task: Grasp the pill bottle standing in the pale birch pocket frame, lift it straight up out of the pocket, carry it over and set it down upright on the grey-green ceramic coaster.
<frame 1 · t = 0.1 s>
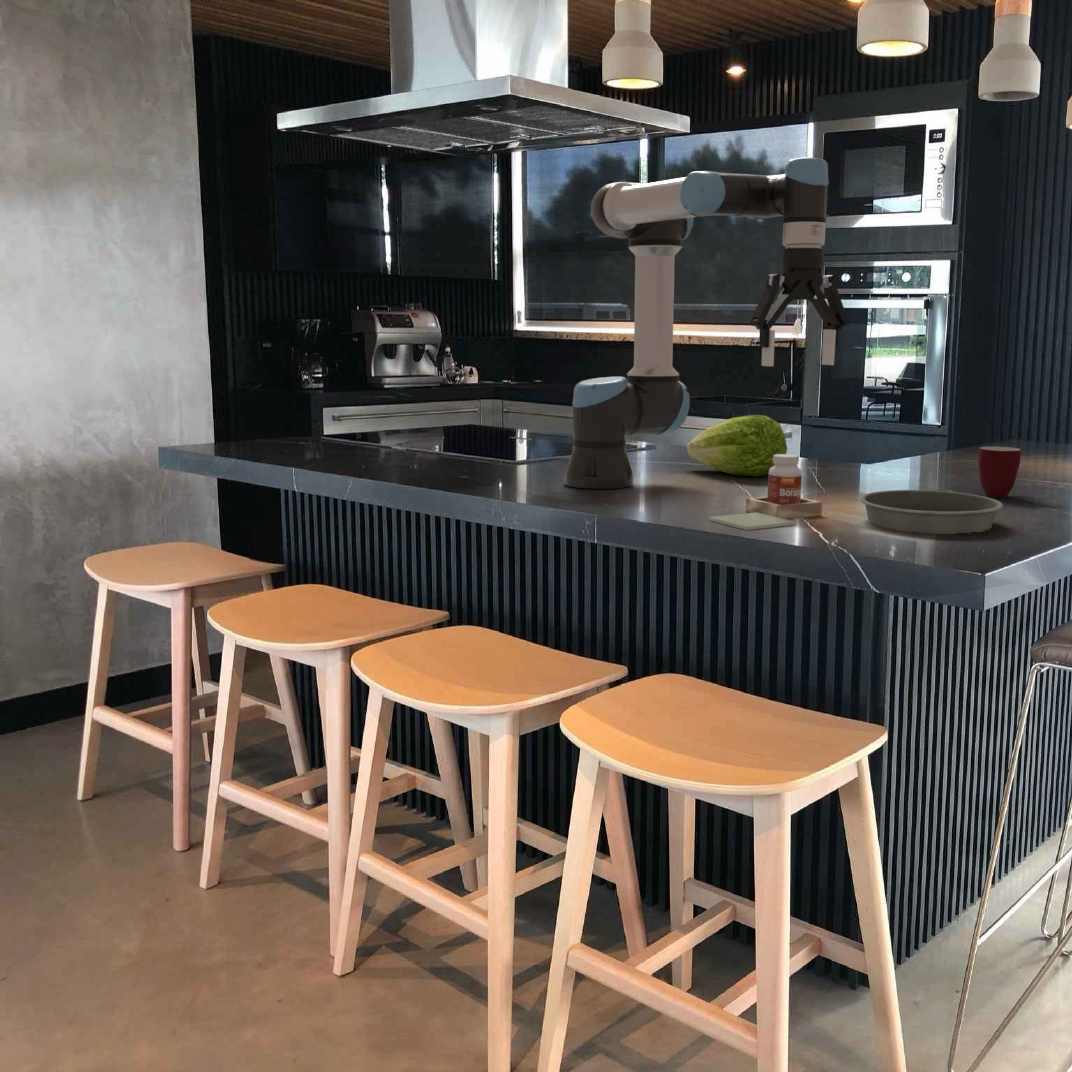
hand: (798, 365, 213), 28 cm above the table, fingers open, 13 cm apart
cake pan: (928, 525, 209), on the table
coaster: (751, 522, 209), on the table
pocket frame: (783, 513, 219), on the table
mug: (998, 496, 240), on the table
pill bottle: (783, 514, 219), resting in pocket frame
lettuce: (733, 474, 273), on the table
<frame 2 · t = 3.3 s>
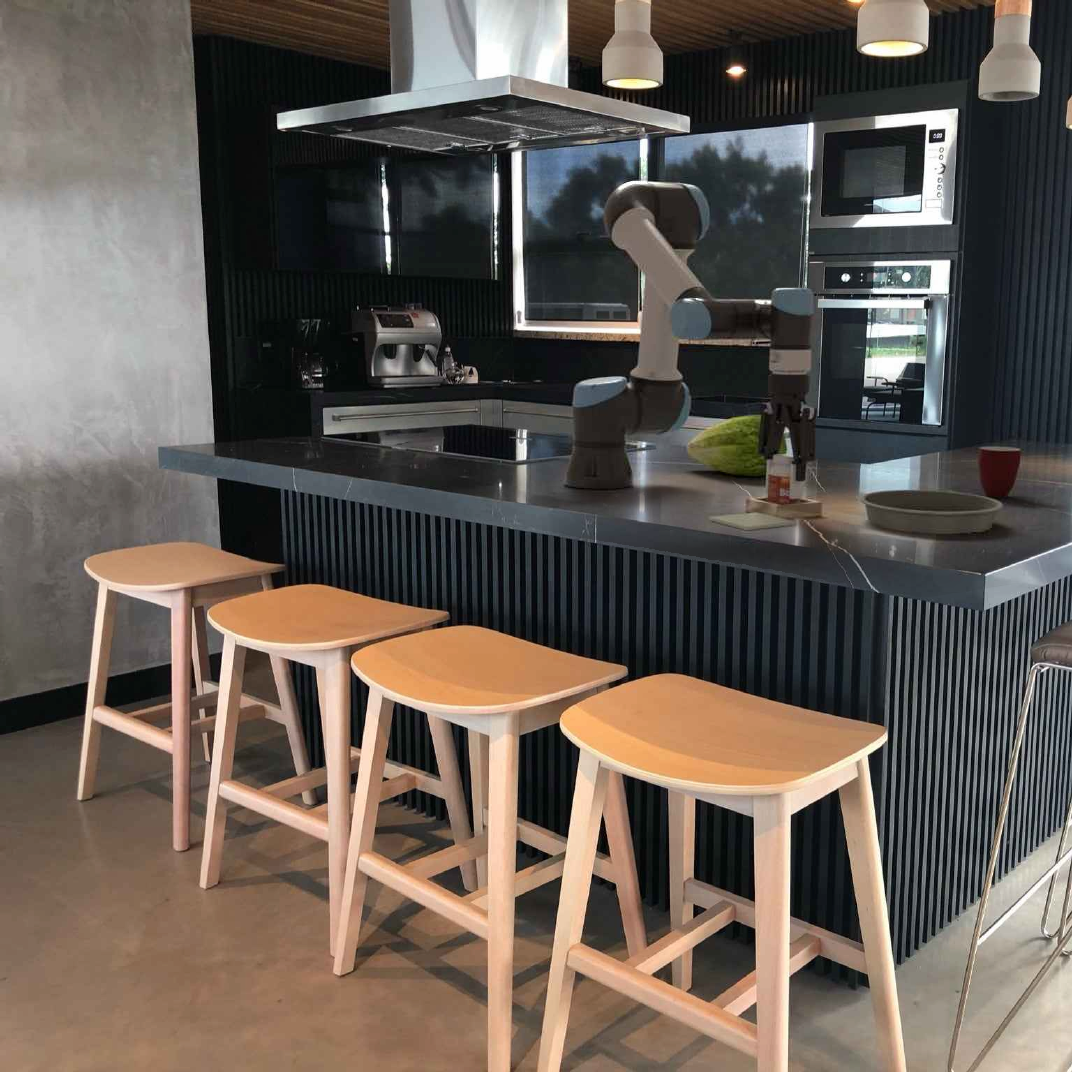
hand: (784, 495, 218), 3 cm above the table, fingers closed on pill bottle, 6 cm apart
pill bottle: (783, 514, 219), resting in pocket frame, touching gripper
everything else where it was.
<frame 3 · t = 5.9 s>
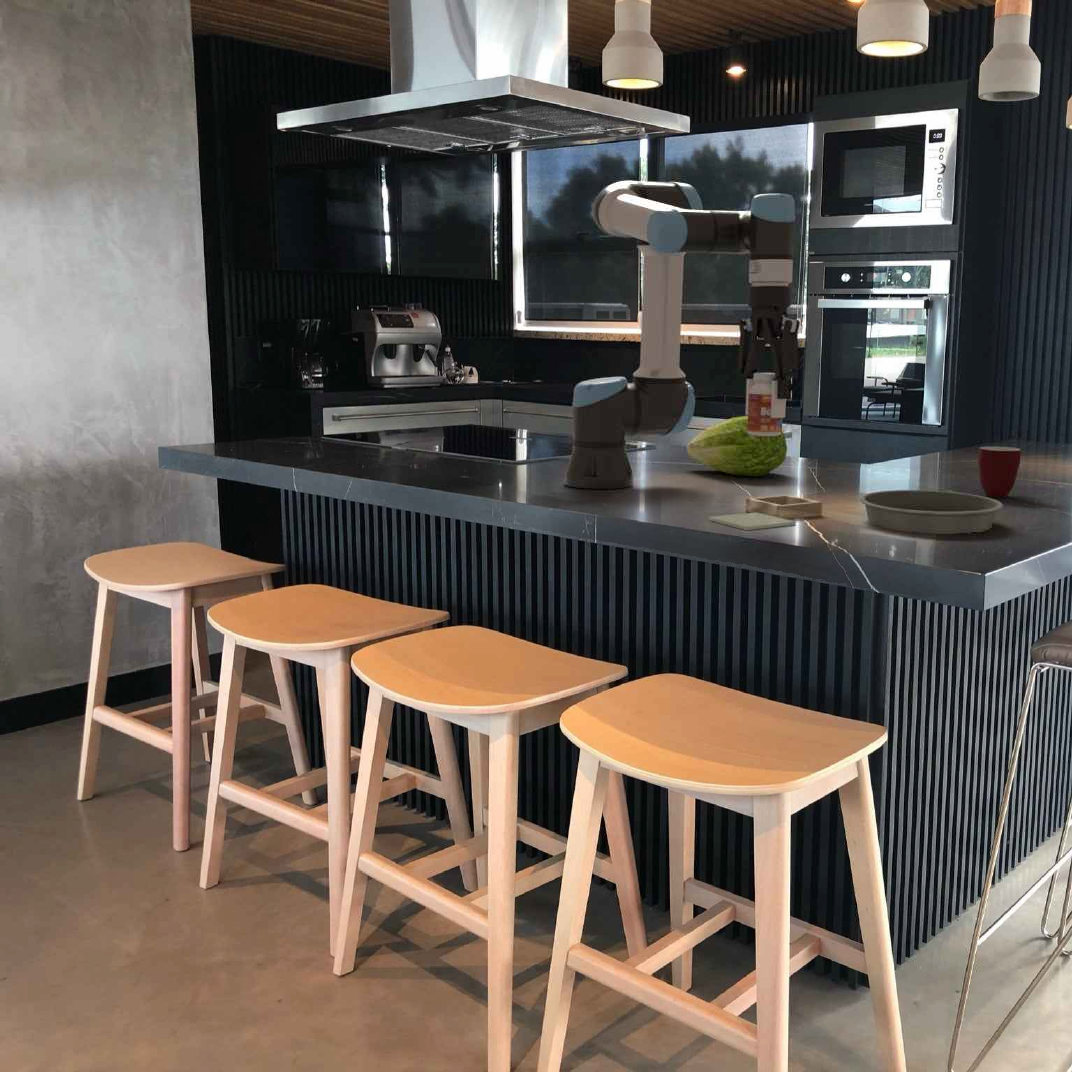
hand: (765, 415, 207), 19 cm above the table, fingers closed on pill bottle, 6 cm apart
pill bottle: (764, 436, 208), point 16 cm above the table, touching gripper
everything else where it was.
when the fingers open (6 cm above the table, at t = 8.5 s): pill bottle drops 2 cm, resting on coaster.
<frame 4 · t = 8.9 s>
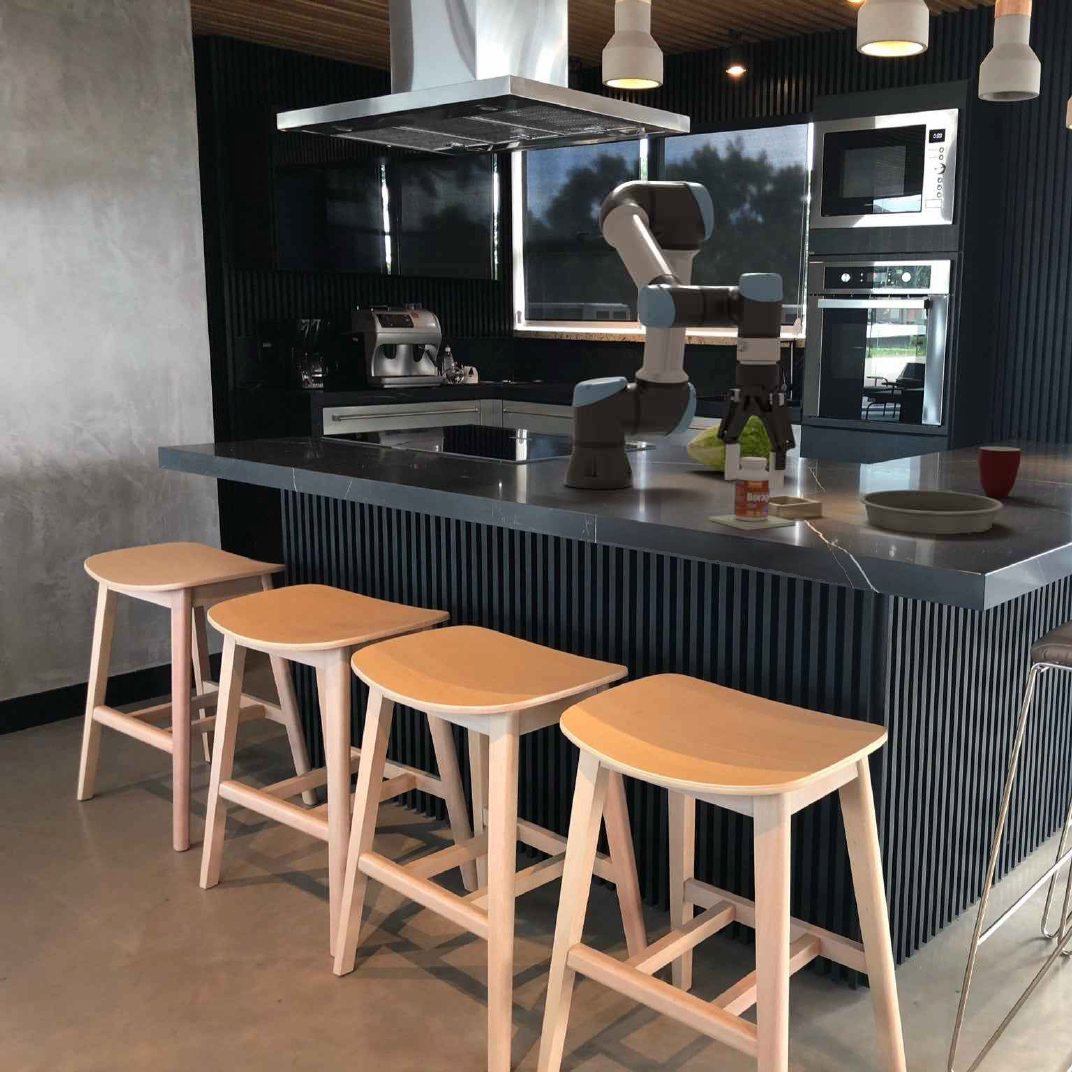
hand: (753, 483, 208), 7 cm above the table, fingers open, 12 cm apart
pill bottle: (750, 520, 209), resting on coaster
everything else where it was.
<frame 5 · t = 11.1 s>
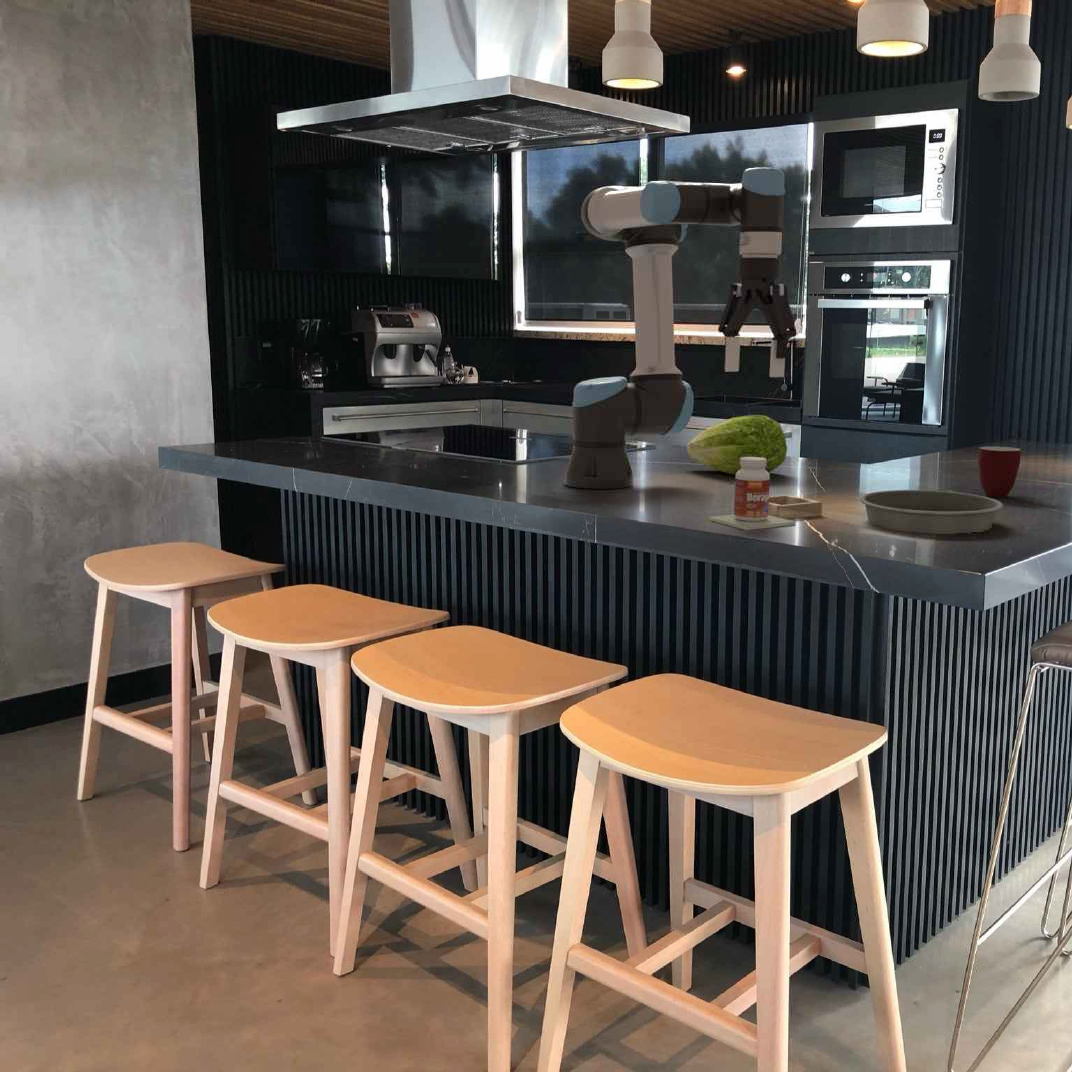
hand: (753, 374, 214), 26 cm above the table, fingers open, 13 cm apart
nothing on the table moved.
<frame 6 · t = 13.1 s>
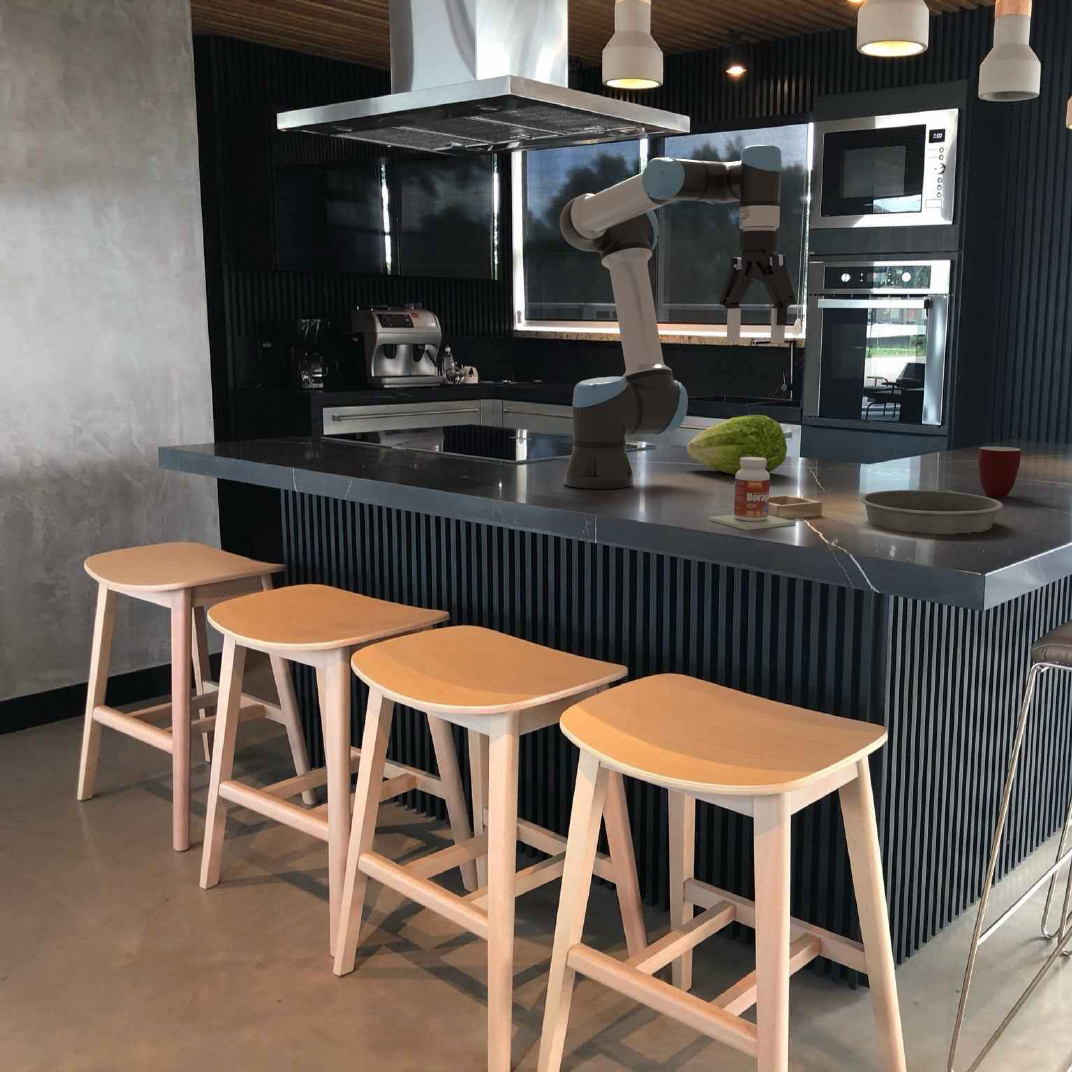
hand: (754, 342, 225), 32 cm above the table, fingers open, 13 cm apart
nothing on the table moved.
at the end: pill bottle inside the target area on the coaster (0.3 cm from its centre), point 0.4 cm above the coaster's base; pill bottle tilted 0°; the gripper is holding nothing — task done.
